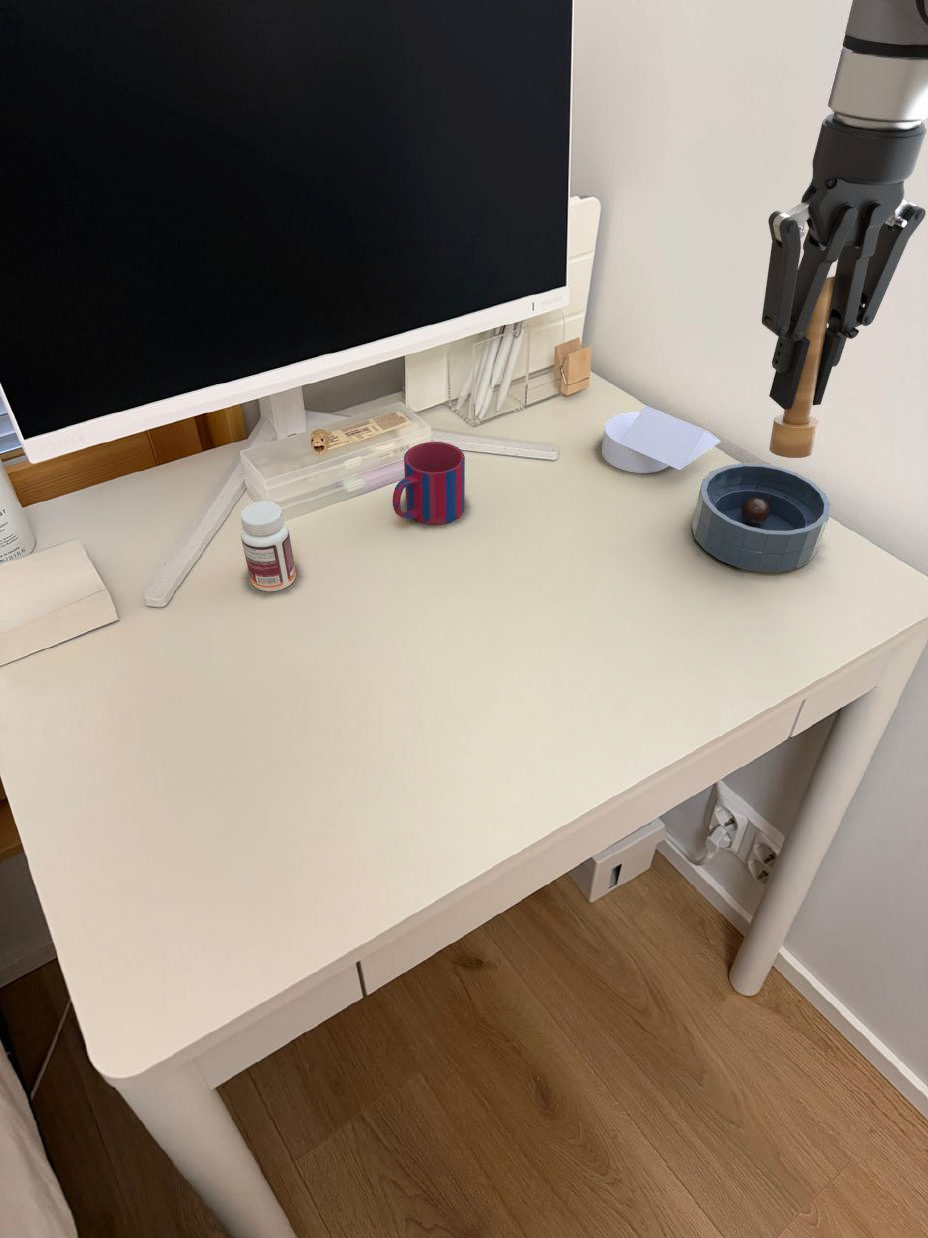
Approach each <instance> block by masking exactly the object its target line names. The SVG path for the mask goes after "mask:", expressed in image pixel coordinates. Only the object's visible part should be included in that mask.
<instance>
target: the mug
mask: <svg viewBox="0 0 928 1238" xmlns="http://www.w3.org/2000/svg"><path fill="white" fill-rule="evenodd" d="M465 466H466V456H465V453H464V452H463V451H462V450H461V449H460V448H459V447H458V446H456V445H454V444H451V443H449V442H443V441H442V442H441V441H426V442H421V443H418V444H416V445H414V446H411V447H410V448H409V449H407V450H406V452H405V453H404V455H403V469H404V478H402V479H401V480H400V481H398V483H397V484H396V485H395V487H394V490H393V493H392V508H393V511H394V513H395V514H396V515H397V516H398V517H400V518H402V519H406V520H411V519H412V520H414V521H416V522H418V523H421V524H423V525H424V524H425V525H429V526H430V525H431V526H433V525H434V526H439V525H440V526H441V525H445V524H449V523H452V522H454V521H456V520H458V519H459V518H460V517H461V516H462V515H463V514H464V511H465V486H466V485H465V484H466V483H465V481H466V480H465V478H466V477H465V475H466V474H465V472H466V471H465V470H466V467H465ZM404 490H405V508H406V509H405V510H406V512H403V510H402V506H401V505H402V504H401V499H402V495H403V492H404Z"/></svg>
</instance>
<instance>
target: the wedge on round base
mask: <svg viewBox="0 0 928 1238" xmlns="http://www.w3.org/2000/svg"><path fill="white" fill-rule="evenodd" d="M602 436H603V438H602V445H601V455H602V457H603V459H604V460H605V461H606V462H607V463H608V464H610V465H611V466H613V467H615V468H616V469H619V470H621V471H625V472H630V473H635V474H636V473H637V474H650V473H657V472H660V471H663V470H665V469H667V468H668V467H672V468H674V469H676V470H678V471H681V470H683V469H684V468H685V467H686V466H688V465H690V464H691V463H693V462H694V461H695V460H697V459H698V458H700V457H701V456H702V455H704V454H705V453H707V452H708V451H710V450H711V449H713V448H714V447H715V446H717V445H718V444H719V443H721V442H722V440H720V439H719V438H718V437H716V436H715V435H714V434H713V433H711V432H710V431H709V430H707V429H705V428H702V427H700V426H697V425H695V424H693V423H690V422H688V421H685V420H683V419H680V418H678V417H676V416H673V415H671V414H668V413H666V412H663V411H661V410H658V409H656V408H654V407H652V406H648V405H646V404H645V405H644V406H643V408H642V410H641V411H627V412H621V413H618V414H615V415H613V416H612V417H610V418H609V419H607V421H606V422H605V424H604V430H603V435H602Z"/></svg>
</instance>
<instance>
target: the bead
mask: <svg viewBox="0 0 928 1238" xmlns="http://www.w3.org/2000/svg"><path fill="white" fill-rule="evenodd" d="M741 514H742V517H743V519H744V520H745V521H746V522H747V523H749V524H752V525H758V524H761V523H763V522H764V521H766V520H767V518H768V516H769V514H770V508H769V505H768V503H767V502H766V501H765V500H763V499H761V498H751V499H749V500H747V501H746V502H745V503H744V505H743V506H742V510H741Z"/></svg>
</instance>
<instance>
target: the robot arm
mask: <svg viewBox="0 0 928 1238" xmlns="http://www.w3.org/2000/svg"><path fill="white" fill-rule="evenodd" d="M850 6H851V7H850V10H849V15H848V19H847V22H846V27H845V31H844V38H843V41H842V45H841V48H840V52H839V55H838V60H837V64H836V68H835V70H834V74H833V80H832V83H831V87H830V92H829V95H828V99H827V107H828V109H829V110H830V111H831V112H832V113H830V114H828V115H826V117H825V118H824V119H823V120H822V122H821V126H820V129H819V133H818V137H817V141H816V144H815V149H814V152H813V153H814V154H813V157H812V164H811V165H812V178H811V181H810V183H809V185H808V187H807V188H806V190H805V191H804V192H803V195H802V196H801V200H800V203H799V204H797V205H795V206H794V207H792V208H791V209H789V210H787V211H785V212H782V211H780V210H774V211H773V212H772V213H770V215H769V217H768V219H767V220H768V228H769V233H770V237H771V241H772V242H771V247H770V254H769V262H768V270H767V278H766V285H765V291H764V299H763V305H762V306H763V307H762V313H761V324H762V325H763V326H764V327H765V328H766V329H768V330H769V331H770V332H772V333H773V334H774V335H775V336H777V340H776V345H775V348H774V352H773V357H772V359H771V366H772V369H774V370H775V372H774V376H773V380H772V382H771V383H772V384H771V387H770V392H769V395H768V396H769V397H770V399H772V401H774V402H775V404H777V405H778V406H779V407H780V408H782V409H783V411H784V410H785V409H791V408H792V404H793V401H794V397H795V394H796V390H797V387H798V383H799V380H800V377H801V373H802V370H803V366H804V363H805V359H806V356H807V352H808V349H809V345H810V342H811V341H809V340H808V339H807V338H805V337H804V335H805V332H806V330H807V327H808V324H809V322H810V319H811V317H812V314H813V311H814V309H815V306H816V304H817V301H818V299H819V296H820V293H821V291H822V288H823V286H824V283H825V280H826V278H827V275H828V273H830V270H831V267H832V265H833V263H835V262H836V268H835V273H834V275H836V278H835V283H834V289H833V294H832V300H831V305H830V311H829V317H828V322H827V328H826V333H825V339H824V344H823V350H822V355H821V361H820V366H819V372H818V378H817V383H816V389H815V394H814V400H813V405H812V406H818V405H821V404H822V402H823V398H824V395H825V392H826V388H827V385H828V382H829V378H830V375H831V372H832V370H833V368H834V367H835V368H836V367H837V366H838V364H839V363H840V361H841V359H842V355H843V351H844V348H845V345H846V342H847V339H848V340H852V339H855V338H856V337H857V336H858V335H859V333H860V330H859V329H857V328H858V327H860V326H863V327H868V326H870V325H871V324H872V323H873V322H874V320H875V318H876V316H877V313H878V311H879V309H880V307H881V304H882V302H883V301H884V297H885V295H886V293H887V291H888V288H889V286H890V283H891V281H892V278H893V277H894V275H895V272H896V269H897V267H898V265H899V263H900V261H901V258H902V256H903V253H904V251H905V250H906V246H907V244H908V242H909V240H910V238H911V236H913V234H914V233H915V231H916V230H917V228H918V227H919V226H920V224H921V223H922V222H923V220H924V219H925V217H926V214H927V213H926V212H927V211H926V209H925V208H924V207H922V206H919V205H918V204H917V205H916V204H915V203H912V202H911V201H909V200H906V199H905V181H906V180H908V179H909V178H910V177H911V176H912V175H913V173H914V171H915V167H916V165H917V161H918V158H919V155H920V152H921V149H922V146H923V143H924V140H925V137H926V133H927V128H926V125H925V123H924V122H923V121H924V120H926V119H927V118H928V0H852V2H851V5H850ZM805 224H807V227H808V229H807V233H806V230H805ZM804 236H805V238H804V241H803V243H802V240H801V238H803V237H804ZM801 250H803V254H802V256H801ZM800 259H801V260H800Z"/></svg>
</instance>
